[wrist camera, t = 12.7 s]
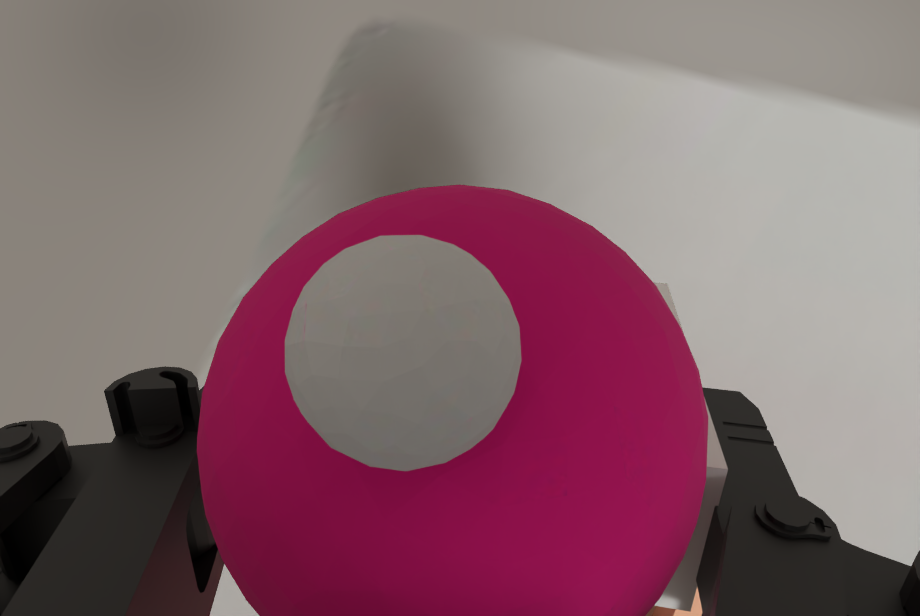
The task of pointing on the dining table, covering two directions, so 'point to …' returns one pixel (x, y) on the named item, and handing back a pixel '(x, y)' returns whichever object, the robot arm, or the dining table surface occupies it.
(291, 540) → the pepper mill
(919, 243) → the dining table surface
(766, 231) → the dining table surface
